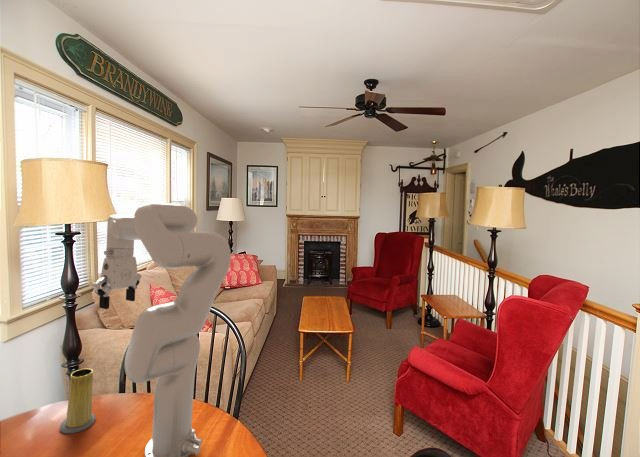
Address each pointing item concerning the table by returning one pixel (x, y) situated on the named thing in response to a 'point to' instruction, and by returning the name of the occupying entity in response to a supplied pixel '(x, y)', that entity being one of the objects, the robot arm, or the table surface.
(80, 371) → the vase
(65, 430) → the coaster
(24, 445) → the table surface
